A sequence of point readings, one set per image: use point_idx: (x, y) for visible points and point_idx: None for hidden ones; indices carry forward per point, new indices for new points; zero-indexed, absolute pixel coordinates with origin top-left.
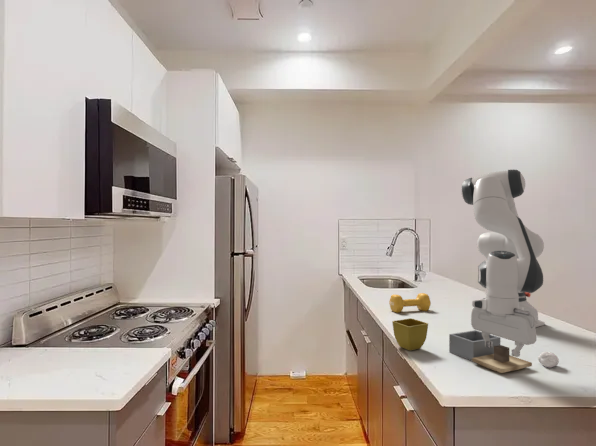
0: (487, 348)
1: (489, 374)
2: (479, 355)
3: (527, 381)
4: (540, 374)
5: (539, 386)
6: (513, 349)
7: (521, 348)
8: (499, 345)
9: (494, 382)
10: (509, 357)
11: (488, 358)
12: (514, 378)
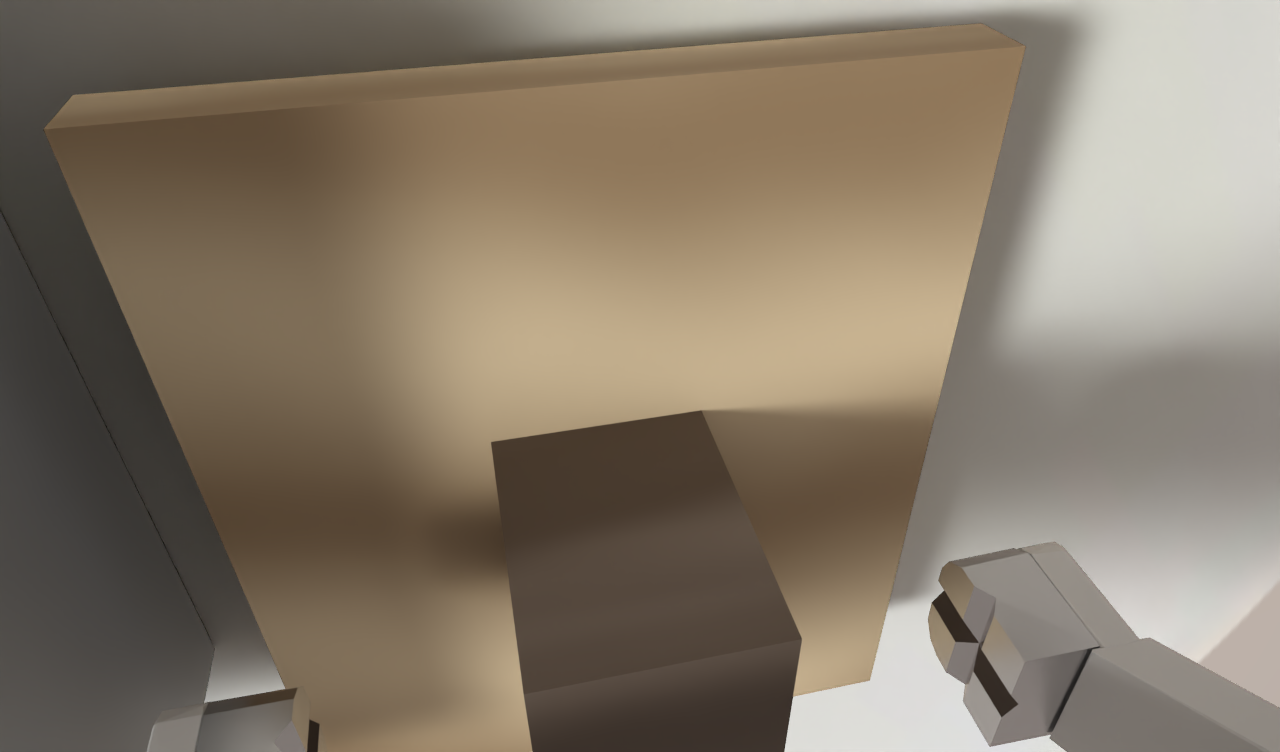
0: (5, 551)
1: None
2: (144, 621)
3: (1102, 469)
4: (1152, 98)
5: (1245, 452)
6: (1010, 714)
7: (1217, 687)
8: (540, 731)
9: (890, 732)
10: (527, 249)
11: (432, 628)
12: (960, 535)
